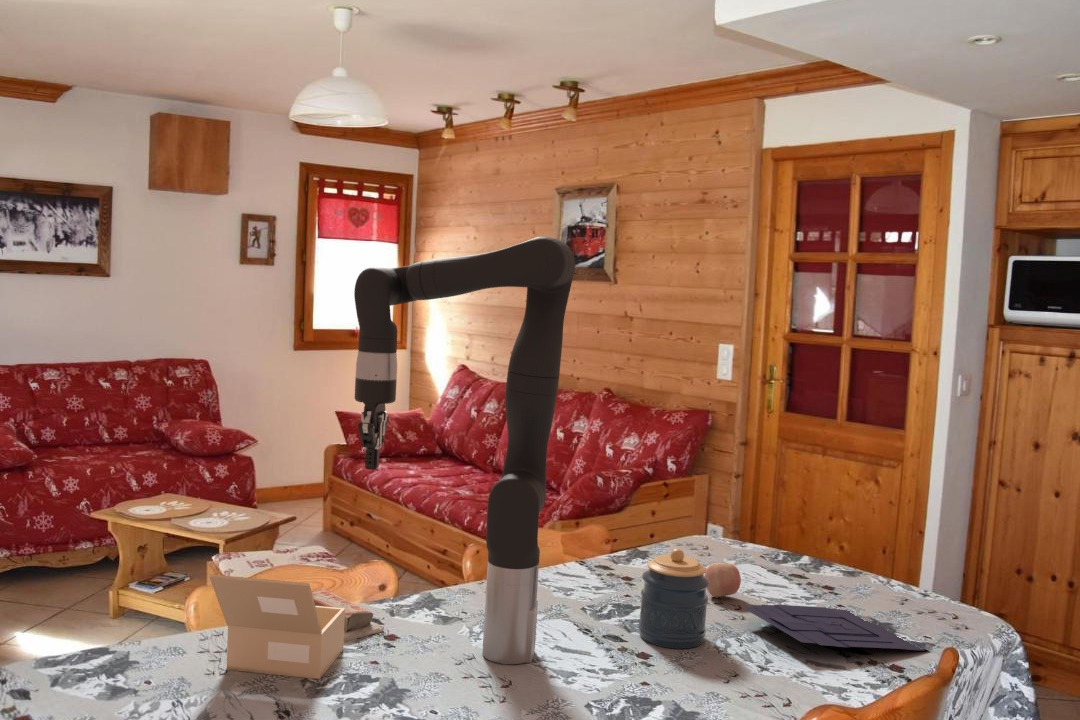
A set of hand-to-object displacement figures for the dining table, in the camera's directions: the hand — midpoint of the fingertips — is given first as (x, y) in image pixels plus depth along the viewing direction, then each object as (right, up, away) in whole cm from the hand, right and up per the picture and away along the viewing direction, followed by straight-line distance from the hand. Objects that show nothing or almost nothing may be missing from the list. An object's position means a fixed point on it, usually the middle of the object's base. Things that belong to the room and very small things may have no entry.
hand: (371, 468), depth 182 cm
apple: (+71, -33, +36) cm, 86 cm away
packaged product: (-8, -31, +6) cm, 32 cm away
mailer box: (-12, -31, -13) cm, 36 cm away
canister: (+57, -34, +9) cm, 67 cm away
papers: (+89, -36, +15) cm, 98 cm away
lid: (-13, -19, -24) cm, 33 cm away
